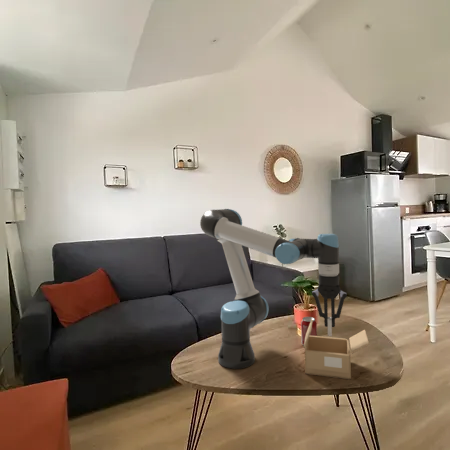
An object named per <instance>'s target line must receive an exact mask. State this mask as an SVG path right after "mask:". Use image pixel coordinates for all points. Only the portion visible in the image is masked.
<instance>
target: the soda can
mask: <svg viewBox="0 0 450 450" xmlns="http://www.w3.org/2000/svg"><path fill="white" fill-rule="evenodd" d="M311 319H312V320H313V321H312V328H311V333H310V335H311V336H318V332H317V330H318V328H317V327H318V325H317V321H316V319H315V317H314V316H313V317H312V316H304V317H302V320H301V322H300V328H301V329H300V330H301V331H300V332H301V336H300V338H301V345H303V346H304V342H305V336H306V333H307V330H308V327H309V325H310V322H311Z"/></svg>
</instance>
